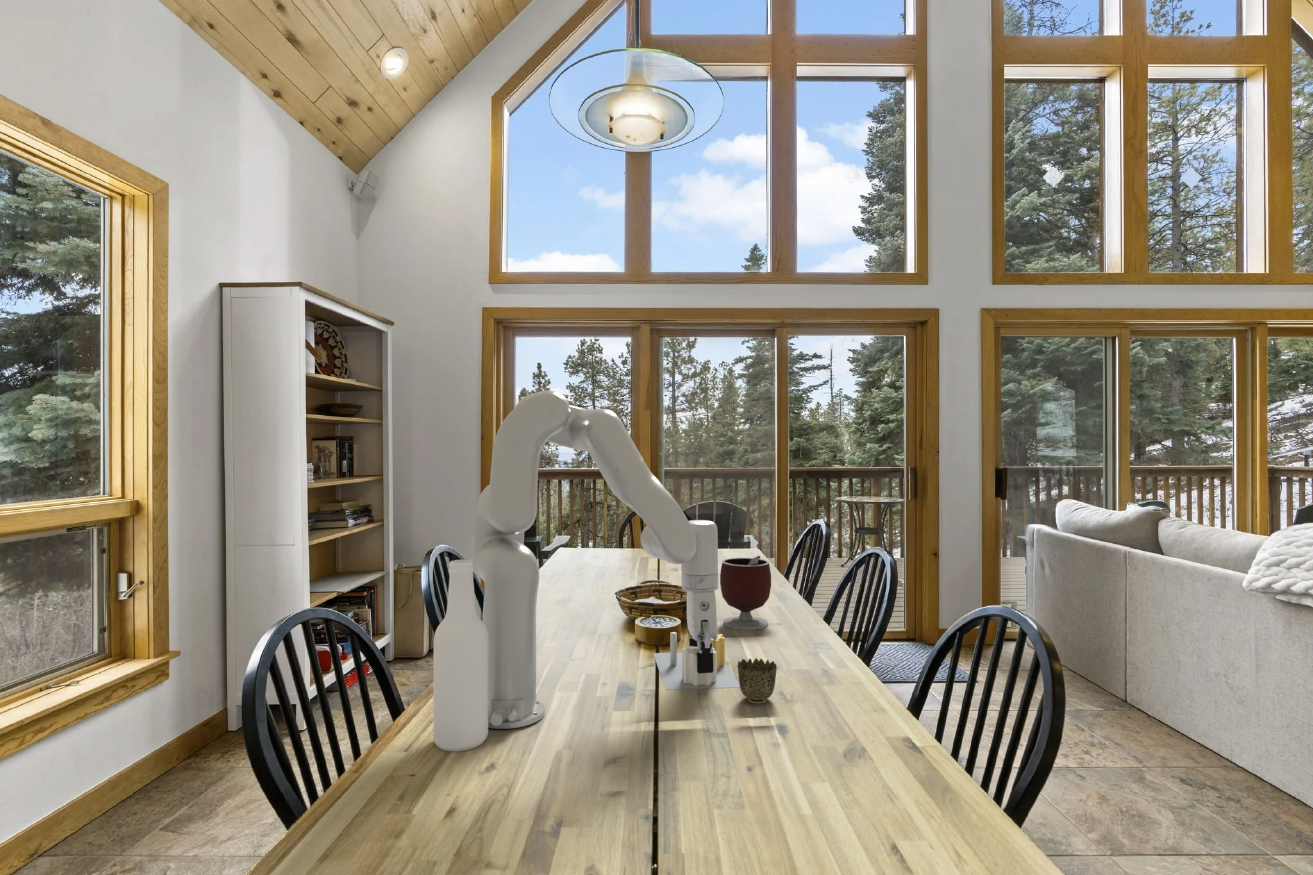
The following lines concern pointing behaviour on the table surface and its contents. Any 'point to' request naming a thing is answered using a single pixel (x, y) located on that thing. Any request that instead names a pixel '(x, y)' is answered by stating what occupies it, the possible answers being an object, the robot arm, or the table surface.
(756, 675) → the cup
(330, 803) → the table surface
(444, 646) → the alcohol
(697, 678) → the cream gear
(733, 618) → the mate gourd
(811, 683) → the table surface
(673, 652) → the gear board
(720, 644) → the ochre gear
